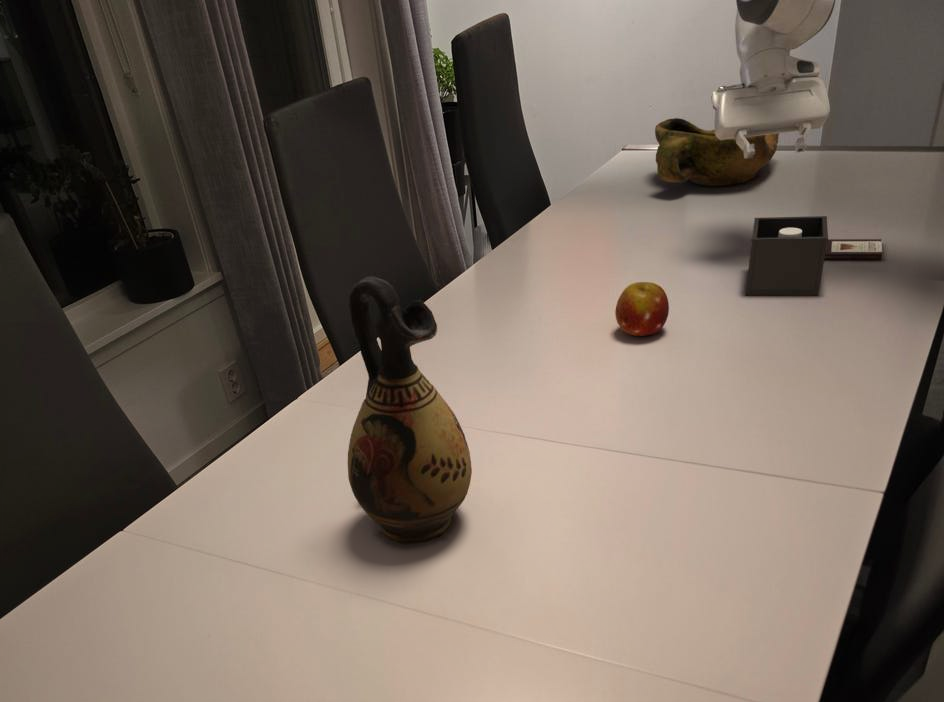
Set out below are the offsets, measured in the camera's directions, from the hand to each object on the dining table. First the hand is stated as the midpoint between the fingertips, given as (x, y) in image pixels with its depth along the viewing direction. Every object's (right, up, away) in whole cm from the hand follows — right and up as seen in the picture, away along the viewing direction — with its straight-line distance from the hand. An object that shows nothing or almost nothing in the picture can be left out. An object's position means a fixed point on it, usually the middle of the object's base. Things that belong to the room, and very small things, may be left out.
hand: (775, 153), depth 153 cm
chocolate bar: (+16, -12, +13) cm, 24 cm away
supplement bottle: (+3, -22, +3) cm, 22 cm away
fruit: (-26, -36, -6) cm, 45 cm away
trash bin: (+3, -22, +4) cm, 23 cm away
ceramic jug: (-64, -74, -44) cm, 107 cm away
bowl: (+6, +28, +61) cm, 67 cm away
